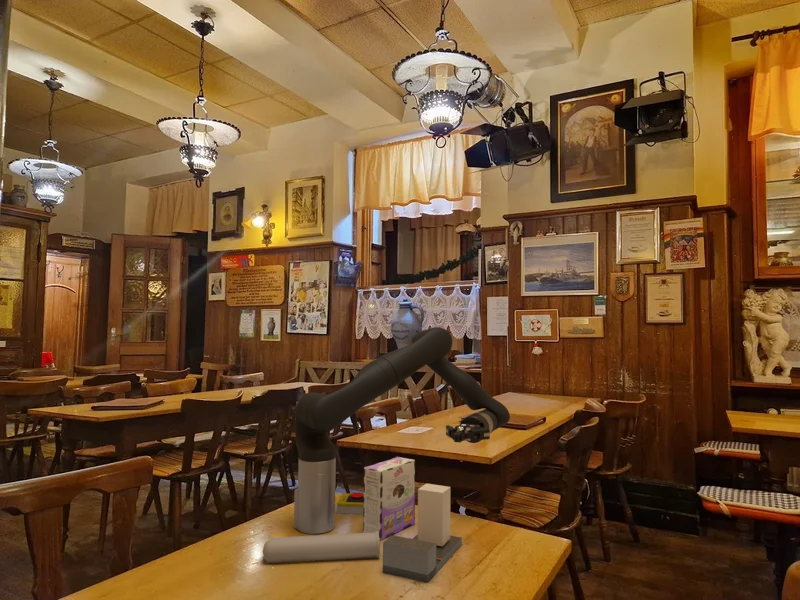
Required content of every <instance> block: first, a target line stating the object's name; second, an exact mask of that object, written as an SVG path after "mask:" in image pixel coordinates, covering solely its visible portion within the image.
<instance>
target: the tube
mask: <svg viewBox="0 0 800 600" xmlns="http://www.w3.org/2000/svg"><path fill="white" fill-rule="evenodd" d="M380 541H381V540H380ZM380 541H379V533H378V531H375V532H372V533H363V532H358V533H357V532H354V533H341V534H340V533H339V534H338V533H337V534H322V535H321V534H320V535H319V534H314V535H302V536H301V535H300V536H283V537H282V536H279V537H270V538H269V539H267V541H265V543H264V544H263V548H262V555H263V556H262V557H263V559H264V560H265V562H266V563H268V562H269V563H268V564H279V563H280V564H282V563H281V562H286V563H298V561H299V562H300V563H301V561H305V562H316V561H315V560H318V561H319V560H324V561H337V559H338V560H339V561H340V559H343V560H356V559H357V560H358V559H380V553H381V551H380V544H381V543H380ZM318 561H317V562H318ZM278 562H279V563H278ZM319 562H320V561H319Z"/></svg>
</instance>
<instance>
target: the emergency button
mask: <svg viewBox="0 0 800 600" xmlns="http://www.w3.org/2000/svg"><path fill="white" fill-rule="evenodd" d="M363 509H364V492H360V491H359V492H352V493H341V495H340V497H339V498H338V501H337V502H335V515H354V516H355V515H357V516H358V515H359V516H360V515H361V516H363V511H364V510H363Z"/></svg>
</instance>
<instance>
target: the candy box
mask: <svg viewBox="0 0 800 600" xmlns="http://www.w3.org/2000/svg"><path fill="white" fill-rule="evenodd" d="M415 477H416V460H415V459H412V458H407V457H400V456H395V457H393V458H390V459H387V460H384V461H381V462H377V463H375V464H371V465H368V466H365V467H363V494H364V509H363V510H364V511H363V515H362V516H363V518H362V519H363V521H362V523H363V525H362V533H372V532H375V531H378V533H379V541H382V540H386V539H388V538H389V537H391V536H392V535H396V534H397V533H399V532H401V531H403V530H405V529H407V528H409V527H412V526H413V525H415V523H416V513H415V512H416V505H415V504H416V503H415V502H416V497H415V496H416V489H415V488H416V484H415V483H416V481H415V480H416V478H415Z"/></svg>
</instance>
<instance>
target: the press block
mask: <svg viewBox="0 0 800 600" xmlns="http://www.w3.org/2000/svg"><path fill="white" fill-rule="evenodd" d="M417 534H418V540H421V541H426V542H431V543H436V545H437V546H442V547H443V545H444V544H445V543H446V542H447V541H448V540H449V539H450V535H451V486H447V485H440V484H439V485H438V484H432V483H425V484H424V485H422V486H420V487H419V488H417Z"/></svg>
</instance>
